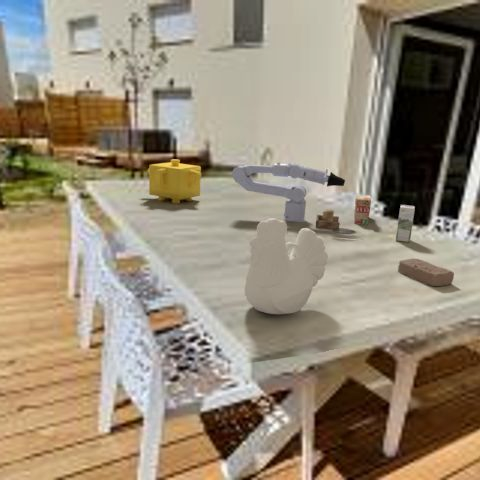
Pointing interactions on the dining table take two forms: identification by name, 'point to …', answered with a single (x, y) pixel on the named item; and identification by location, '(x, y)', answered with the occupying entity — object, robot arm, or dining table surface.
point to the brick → (425, 272)
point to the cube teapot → (174, 181)
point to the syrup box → (405, 223)
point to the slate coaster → (343, 231)
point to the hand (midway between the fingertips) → (344, 182)
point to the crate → (327, 222)
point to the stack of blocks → (362, 209)
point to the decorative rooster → (283, 268)
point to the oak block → (328, 215)
